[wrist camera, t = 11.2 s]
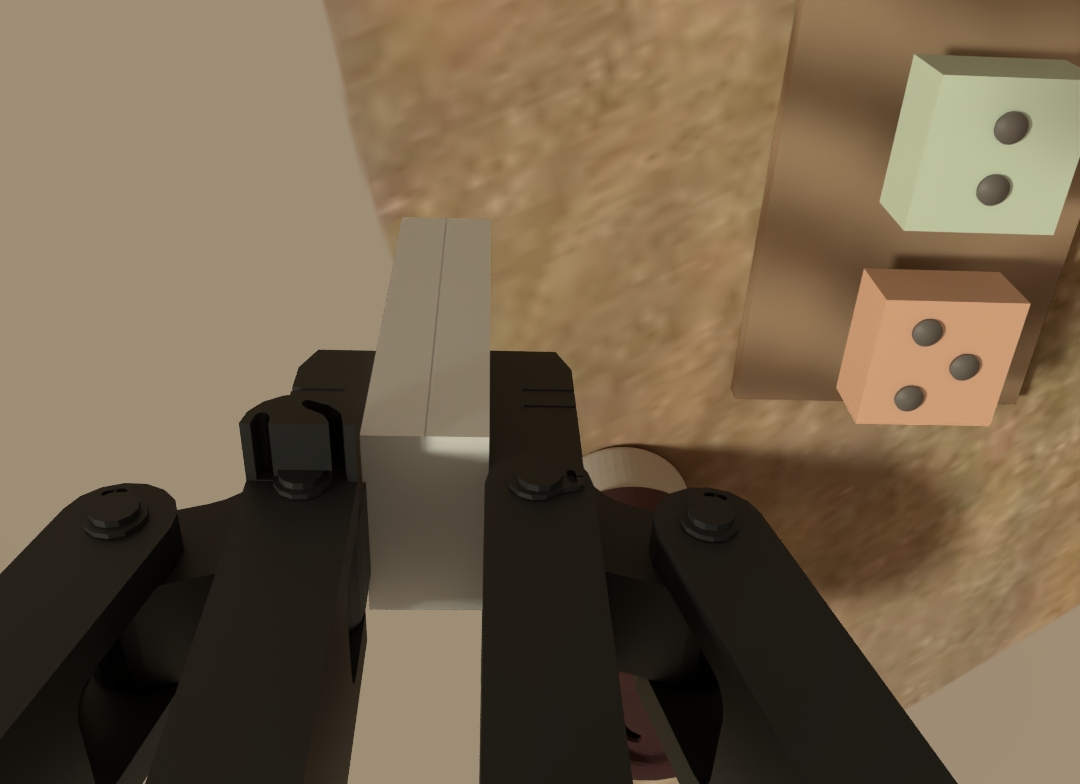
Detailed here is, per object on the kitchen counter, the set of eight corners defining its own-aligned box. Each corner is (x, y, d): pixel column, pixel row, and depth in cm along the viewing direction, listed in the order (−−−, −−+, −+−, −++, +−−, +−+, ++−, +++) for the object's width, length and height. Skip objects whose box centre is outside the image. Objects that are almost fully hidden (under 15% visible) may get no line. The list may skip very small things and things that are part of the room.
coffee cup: (705, 407, 51) (775, 623, 38) (717, 556, 56) (782, 790, 44) (509, 436, 52) (514, 659, 39) (538, 581, 57) (551, 820, 44)
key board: (847, -294, 36) (866, -297, 34) (1231, -272, 37) (1271, -273, 35) (730, 387, 51) (740, 412, 49) (1006, 393, 51) (1026, 417, 50)
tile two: (913, 54, 39) (945, 76, 37) (1065, 59, 40) (1107, 82, 37) (879, 202, 42) (905, 232, 40) (1020, 206, 43) (1056, 237, 40)
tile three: (863, 268, 44) (888, 302, 41) (999, 272, 44) (1033, 305, 42) (836, 387, 47) (857, 426, 44) (963, 390, 48) (991, 428, 45)
